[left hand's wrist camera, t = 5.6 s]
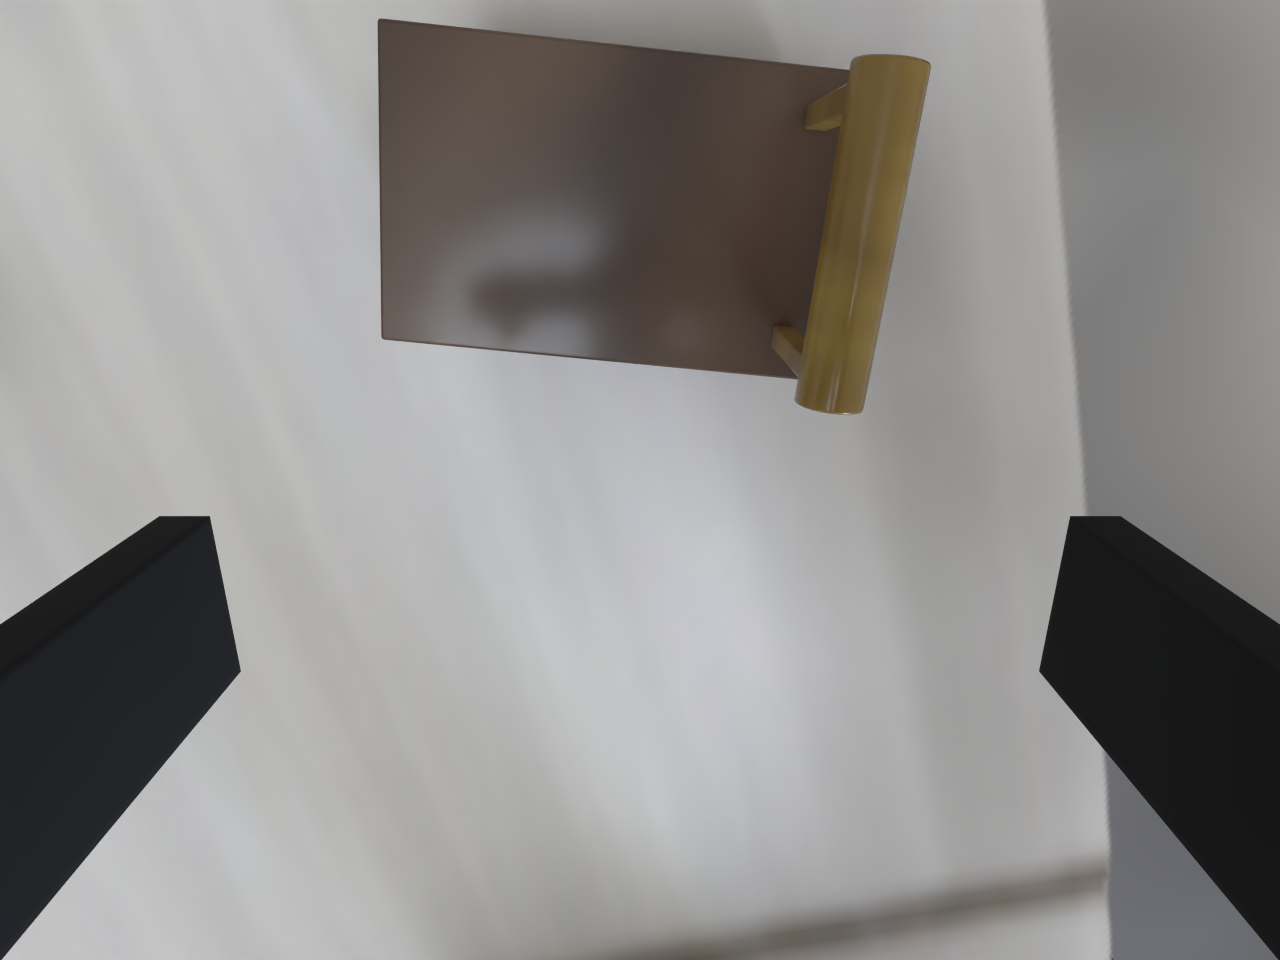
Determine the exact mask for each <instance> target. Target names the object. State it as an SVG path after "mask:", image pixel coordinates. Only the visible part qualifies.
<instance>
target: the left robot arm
mask: <svg viewBox="0 0 1280 960" xmlns="http://www.w3.org/2000/svg"><path fill="white" fill-rule="evenodd" d="M240 672H241V670H240V665H239V660H238V655H237V650H236V645H235V640H234V635H233V630H232V625H231V620H230V615H229V610H228V605H227V600H226V595H225V590H224V585H223V580H222V575H221V570H220V565H219V560H218V555H217V550H216V545H215V540H214V535H213V530H212V525H211V520H210V516H159V517H158V518H156V519H155V520H153V521H152V522H150V523H149V524H147V525H146V526H144V527H143V528H142V529H140V530H139V531H137V532H136V533H134V534H133V535H131V536H130V537H128V538H127V539H125V540H124V541H122V542H121V543H119V544H118V545H117V546H115V547H114V548H112V549H111V550H109V551H108V552H106V553H105V554H103V555H102V556H100V557H99V558H97V559H96V560H94V561H93V562H91V563H90V564H89V565H87V566H86V567H84V568H83V569H81V570H80V571H78V572H77V573H75V574H74V575H72V576H71V577H69V578H68V579H66V580H65V581H64V582H62V583H61V584H59V585H58V586H56V587H55V588H53V589H52V590H50V591H49V592H47V593H46V594H44V595H43V596H41V597H40V598H39V599H37V600H36V601H34V602H33V603H31V604H30V605H28V606H27V607H25V608H24V609H22V610H21V611H19V612H18V613H16V614H15V615H13V616H12V617H11V618H9V619H8V620H6V621H5V622H3V623H2V624H0V960H2V959H3V957H4V956H5V955H6V954H7V953H8V951H9V950H10V949H11V948H12V947H13V945H14V944H15V943H16V942H17V940H18V939H19V938H20V937H21V936H22V934H23V933H24V932H25V931H26V930H27V928H28V927H29V926H30V925H31V924H32V922H33V921H34V920H35V919H36V918H37V916H38V915H39V914H40V913H41V912H42V910H43V909H44V908H45V907H46V906H47V904H48V903H49V902H50V901H51V899H52V898H53V897H54V896H55V895H56V893H57V892H58V891H59V890H60V889H61V887H62V886H63V885H64V884H65V883H66V881H67V880H68V879H69V878H70V877H71V875H72V874H73V873H74V872H75V871H76V869H77V868H78V867H79V866H80V865H81V863H82V862H83V861H84V860H85V858H86V857H87V856H88V855H89V854H90V852H91V851H92V850H93V849H94V848H95V846H96V845H97V844H98V843H99V842H100V840H101V839H102V838H103V837H104V836H105V834H106V833H107V832H108V831H109V830H110V828H111V827H112V826H113V825H114V824H115V822H116V821H117V820H118V819H119V818H120V816H121V815H122V814H123V813H124V811H125V810H126V809H127V808H128V807H129V805H130V804H131V803H132V802H133V801H134V799H135V798H136V797H137V796H138V795H139V793H140V792H141V791H142V790H143V789H144V787H145V786H146V785H147V784H148V783H149V781H150V780H151V779H152V778H153V777H154V775H155V774H156V773H157V772H158V770H159V769H160V768H161V767H162V766H163V764H164V763H165V762H166V761H167V760H168V758H169V757H170V756H171V755H172V754H173V752H174V751H175V750H176V749H177V748H178V746H179V745H180V744H181V743H182V742H183V740H184V739H185V738H186V737H187V736H188V734H189V733H190V732H191V731H192V729H193V728H194V727H195V726H196V725H197V723H198V722H199V721H200V720H201V719H202V717H203V716H204V715H205V714H206V713H207V711H208V710H209V709H210V708H211V707H212V705H213V704H214V703H215V702H216V701H217V699H218V698H219V697H220V696H221V695H222V693H223V692H224V691H225V690H226V688H227V687H228V686H229V685H230V684H231V682H232V681H233V680H234V679H235V678H236V676H237V675H238V674H239V673H240ZM1039 672H1040V673H1041V674H1042V675H1043V676H1044V678H1045V679H1046V680H1047V681H1048V682H1049V684H1050V685H1051V686H1052V687H1053V688H1054V690H1055V691H1056V692H1057V693H1058V695H1059V696H1060V697H1061V698H1062V699H1063V701H1064V702H1065V703H1066V704H1067V705H1068V707H1069V708H1070V709H1071V710H1072V711H1073V713H1074V714H1075V715H1076V716H1077V717H1078V719H1079V720H1080V721H1081V722H1082V723H1083V725H1084V726H1085V727H1086V728H1087V729H1088V731H1089V732H1090V733H1091V734H1092V736H1093V737H1094V738H1095V739H1096V740H1097V742H1098V743H1099V744H1100V745H1101V746H1102V748H1103V749H1104V750H1105V751H1106V752H1107V754H1108V755H1109V756H1110V757H1111V758H1112V760H1113V761H1114V762H1115V763H1116V764H1117V766H1118V767H1119V768H1120V769H1121V770H1122V772H1123V773H1124V774H1125V775H1126V777H1127V778H1128V779H1129V780H1130V781H1131V782H1132V784H1133V785H1134V786H1135V787H1136V789H1137V790H1138V791H1139V792H1140V793H1141V795H1142V796H1143V797H1144V798H1145V799H1146V801H1147V802H1148V803H1149V804H1150V805H1151V807H1152V808H1153V809H1154V810H1155V811H1156V813H1157V814H1158V815H1159V816H1160V817H1161V819H1162V820H1163V821H1164V822H1165V824H1166V825H1167V826H1168V827H1169V828H1170V830H1171V831H1172V832H1173V833H1174V834H1175V836H1176V837H1177V838H1178V839H1179V840H1180V842H1181V843H1182V844H1183V845H1184V846H1185V848H1186V849H1187V850H1188V851H1189V852H1190V854H1191V855H1192V856H1193V857H1194V858H1195V860H1196V861H1197V862H1198V863H1199V865H1200V866H1201V867H1202V868H1203V869H1204V871H1205V872H1206V873H1207V874H1208V875H1209V877H1210V878H1211V879H1212V880H1213V881H1214V883H1215V884H1216V885H1217V886H1218V887H1219V889H1220V890H1221V891H1222V892H1223V893H1224V895H1225V896H1226V897H1227V898H1228V899H1229V901H1230V902H1231V903H1232V904H1233V905H1234V907H1235V908H1236V909H1237V910H1238V912H1239V913H1240V914H1241V915H1242V916H1243V918H1244V919H1245V920H1246V921H1247V922H1248V924H1249V925H1250V926H1251V927H1252V928H1253V930H1254V931H1255V932H1256V933H1257V934H1258V936H1259V937H1260V938H1261V939H1262V940H1263V942H1264V943H1265V944H1266V945H1267V947H1268V948H1269V949H1270V950H1271V951H1272V953H1273V954H1274V955H1275V956H1276V957H1277V959H1278V960H1280V624H1278V623H1277V622H1275V621H1274V620H1272V619H1271V618H1269V617H1268V616H1267V615H1265V614H1264V613H1262V612H1261V611H1259V610H1258V609H1256V608H1255V607H1253V606H1252V605H1250V604H1249V603H1247V602H1246V601H1244V600H1243V599H1241V598H1240V597H1239V596H1237V595H1236V594H1234V593H1233V592H1231V591H1230V590H1228V589H1227V588H1225V587H1224V586H1222V585H1221V584H1219V583H1218V582H1216V581H1215V580H1213V579H1212V578H1211V577H1209V576H1208V575H1206V574H1205V573H1203V572H1202V571H1200V570H1199V569H1197V568H1196V567H1194V566H1193V565H1191V564H1190V563H1188V562H1187V561H1186V560H1184V559H1183V558H1181V557H1180V556H1178V555H1177V554H1175V553H1174V552H1172V551H1171V550H1169V549H1168V548H1166V547H1165V546H1163V545H1162V544H1160V543H1159V542H1158V541H1156V540H1155V539H1153V538H1152V537H1150V536H1149V535H1147V534H1146V533H1144V532H1143V531H1141V530H1140V529H1138V528H1137V527H1135V526H1134V525H1133V524H1131V523H1130V522H1128V521H1127V520H1125V519H1124V518H1122V517H1121V516H1070V520H1069V525H1068V530H1067V535H1066V540H1065V545H1064V550H1063V555H1062V560H1061V565H1060V570H1059V575H1058V580H1057V585H1056V590H1055V595H1054V600H1053V605H1052V610H1051V615H1050V620H1049V625H1048V630H1047V635H1046V640H1045V645H1044V650H1043V655H1042V660H1041V665H1040V670H1039ZM1110 956H1111V954H1110ZM1111 960H1113V958H1112V956H1111Z"/></svg>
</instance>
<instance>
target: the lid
mask: <svg viewBox="0 0 1280 960" xmlns="http://www.w3.org/2000/svg"><path fill="white" fill-rule="evenodd" d="M930 70H931V64H930V63H929V62H927V61H925V60H923V59H920V58H916V57H910V56H903V55H891V54H871V55H862V56H858V57H855V58H853V59H852V61H851V65H850V70H844V69H835V68H826V67H817V66H808V65H799V64H790V63H781V62H772V61H763V60H754V59H744V58H735V57H726V56H717V55H708V54H699V53H690V52H681V51H672V50H663V49H654V48H645V47H636V46H626V45H617V44H608V43H599V42H590V41H581V40H572V39H563V38H554V37H545V36H536V35H527V34H518V33H508V32H499V31H490V30H481V29H472V28H463V27H454V26H445V25H436V24H427V23H418V22H409V21H400V20H390V19H379V20H378V84H379V167H380V250H381V333H382V339H384V340H394V341H404V342H415V343H425V344H435V345H446V346H456V347H467V348H477V349H487V350H498V351H508V352H519V353H529V354H539V355H550V356H560V357H571V358H581V359H591V360H602V361H612V362H622V363H633V364H643V365H654V366H664V367H674V368H685V369H695V370H706V371H716V372H726V373H737V374H747V375H758V376H768V377H778V378H789V379H798V382H797V388H796V394H795V402H796V403H797V404H799V405H800V406H802V407H805V408H807V409H810V410H814V411H818V412H823V413H829V414H839V415H851V414H858V413H860V412H862V410H863V408H864V403H865V398H866V393H867V388H868V383H869V378H870V373H871V368H872V362H873V357H874V352H875V347H876V342H877V337H878V332H879V327H880V322H881V317H882V312H883V307H884V302H885V297H886V292H887V287H888V282H889V277H890V272H891V267H892V261H893V256H894V251H895V246H896V241H897V236H898V231H899V226H900V221H901V216H902V211H903V206H904V201H905V196H906V191H907V186H908V181H909V176H910V171H911V165H912V160H913V155H914V150H915V145H916V140H917V135H918V130H919V125H920V120H921V115H922V110H923V105H924V100H925V95H926V90H927V85H928V80H929V75H930Z"/></svg>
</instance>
